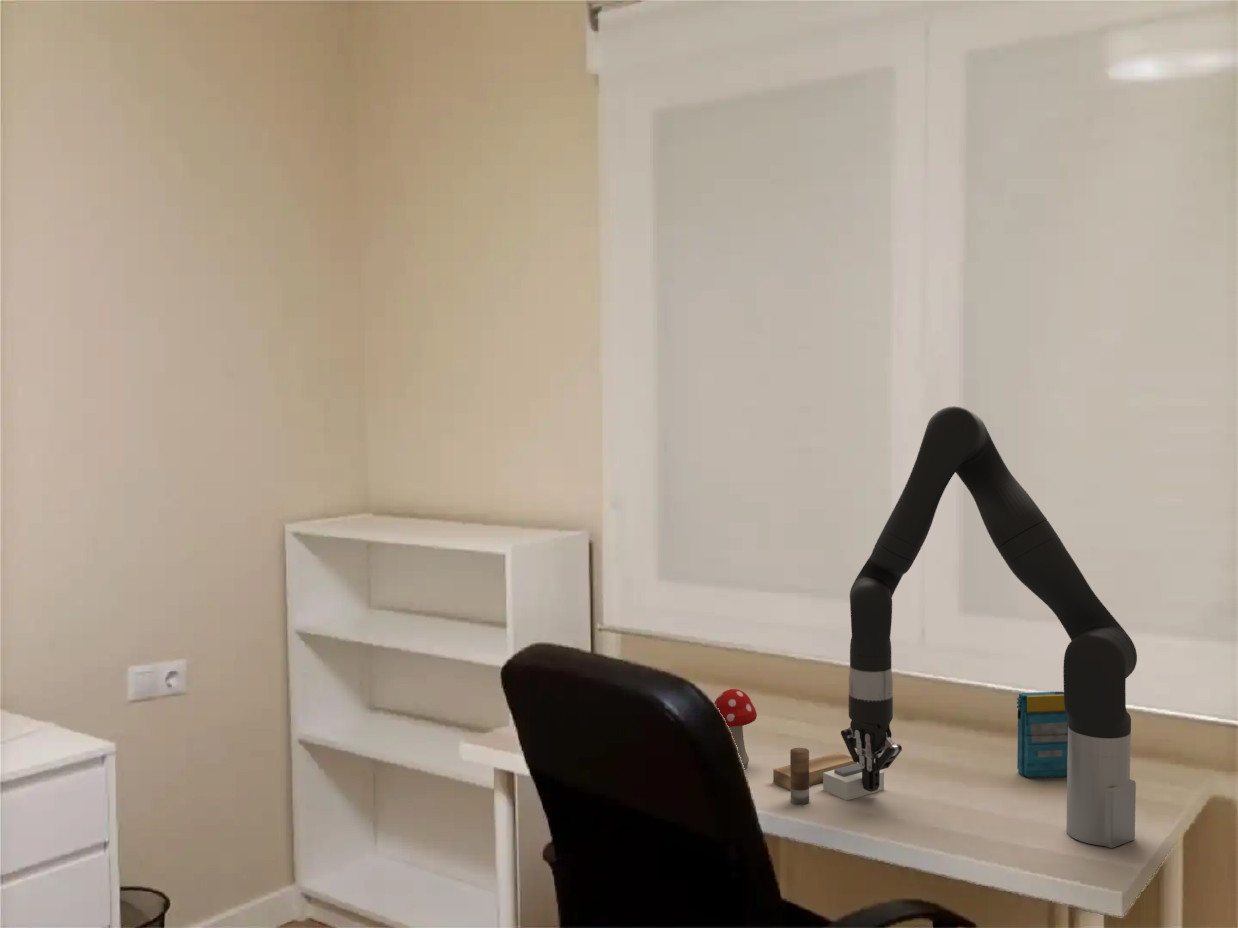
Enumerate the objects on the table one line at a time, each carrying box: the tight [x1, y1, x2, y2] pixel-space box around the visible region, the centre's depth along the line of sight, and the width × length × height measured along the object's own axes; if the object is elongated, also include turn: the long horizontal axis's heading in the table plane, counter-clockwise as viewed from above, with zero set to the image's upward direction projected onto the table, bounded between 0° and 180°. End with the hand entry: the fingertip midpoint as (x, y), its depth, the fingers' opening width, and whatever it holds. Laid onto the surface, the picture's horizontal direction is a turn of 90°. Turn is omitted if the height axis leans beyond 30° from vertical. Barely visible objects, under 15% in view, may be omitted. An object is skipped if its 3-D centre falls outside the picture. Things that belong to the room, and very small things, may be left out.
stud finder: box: [822, 762, 885, 801], centre depth 203 cm, size 6×9×4 cm, turn 122°
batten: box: [772, 752, 858, 791], centre depth 210 cm, size 5×16×2 cm, turn 122°
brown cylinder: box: [789, 747, 810, 806], centre depth 198 cm, size 3×3×9 cm
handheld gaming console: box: [1016, 690, 1068, 779], centre depth 208 cm, size 10×4×15 cm, turn 94°
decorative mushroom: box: [713, 688, 758, 770], centre depth 215 cm, size 10×9×15 cm
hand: (870, 789), depth 199 cm, fingers closed
